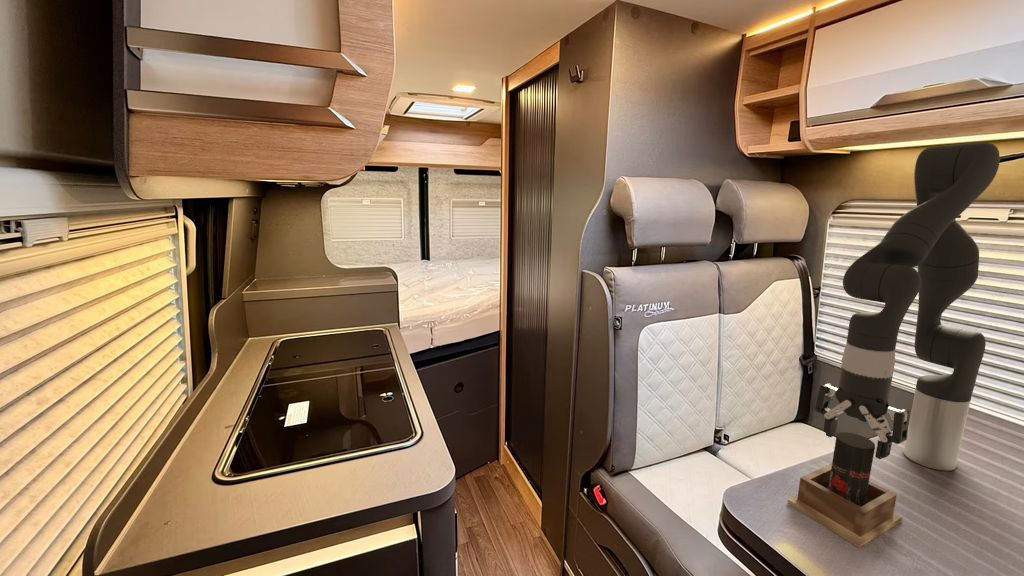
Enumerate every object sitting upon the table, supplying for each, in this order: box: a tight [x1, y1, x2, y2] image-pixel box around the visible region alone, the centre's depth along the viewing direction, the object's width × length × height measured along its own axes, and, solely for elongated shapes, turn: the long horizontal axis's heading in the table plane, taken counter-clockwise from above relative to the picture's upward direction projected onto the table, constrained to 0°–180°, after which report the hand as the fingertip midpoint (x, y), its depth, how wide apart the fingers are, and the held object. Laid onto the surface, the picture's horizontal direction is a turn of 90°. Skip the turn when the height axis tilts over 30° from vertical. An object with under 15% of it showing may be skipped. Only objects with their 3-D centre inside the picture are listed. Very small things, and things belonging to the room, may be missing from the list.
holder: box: [787, 462, 903, 549], centre depth 86 cm, size 15×13×6 cm
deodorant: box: [828, 431, 876, 507], centre depth 85 cm, size 6×6×15 cm
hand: (854, 446), depth 84 cm, fingers open, 8 cm apart
